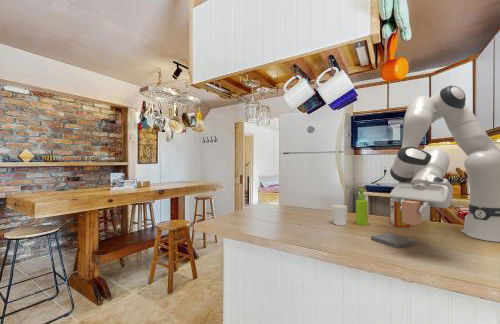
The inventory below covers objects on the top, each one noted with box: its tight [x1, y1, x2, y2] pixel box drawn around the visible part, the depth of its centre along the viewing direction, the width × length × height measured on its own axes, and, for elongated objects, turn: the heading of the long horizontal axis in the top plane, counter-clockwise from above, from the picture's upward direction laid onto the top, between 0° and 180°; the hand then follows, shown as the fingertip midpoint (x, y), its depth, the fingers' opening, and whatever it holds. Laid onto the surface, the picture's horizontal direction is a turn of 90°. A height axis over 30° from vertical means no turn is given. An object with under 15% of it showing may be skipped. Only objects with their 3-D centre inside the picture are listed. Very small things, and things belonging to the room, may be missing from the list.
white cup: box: [331, 204, 348, 226], centre depth 135 cm, size 8×8×10 cm
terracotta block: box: [402, 201, 423, 226], centre depth 91 cm, size 4×4×8 cm
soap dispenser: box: [355, 187, 369, 227], centre depth 134 cm, size 6×7×20 cm
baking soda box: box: [389, 196, 410, 229], centre depth 131 cm, size 10×6×16 cm
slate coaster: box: [370, 232, 416, 249], centre depth 106 cm, size 12×12×2 cm
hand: (410, 211), depth 90 cm, fingers closed on terracotta block, 4 cm apart
